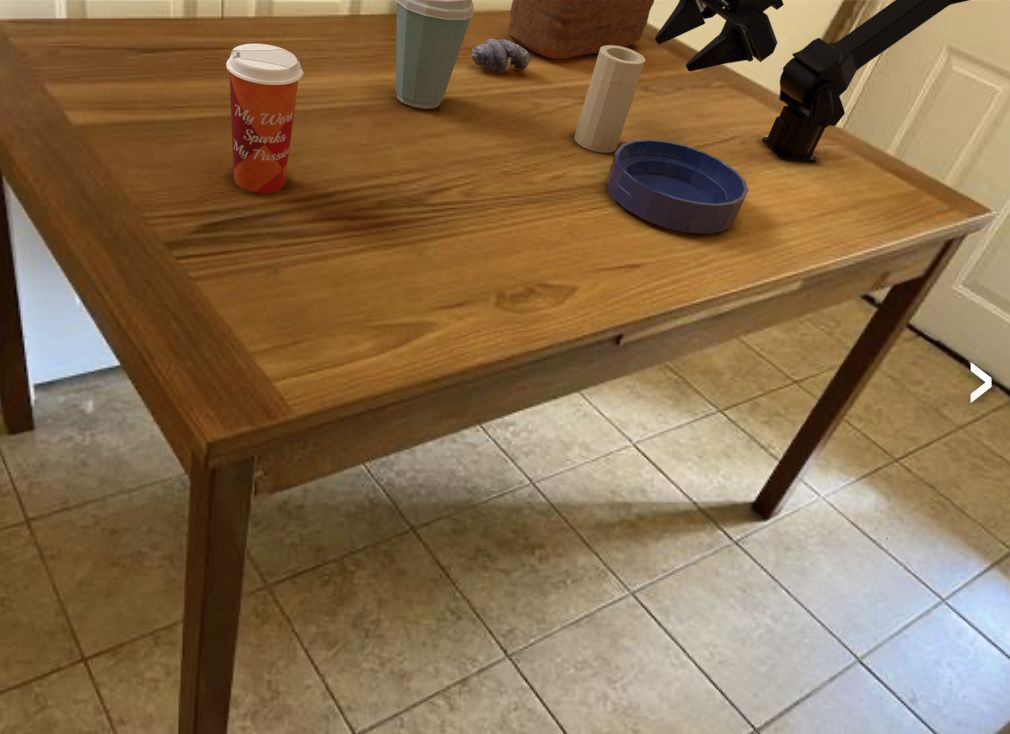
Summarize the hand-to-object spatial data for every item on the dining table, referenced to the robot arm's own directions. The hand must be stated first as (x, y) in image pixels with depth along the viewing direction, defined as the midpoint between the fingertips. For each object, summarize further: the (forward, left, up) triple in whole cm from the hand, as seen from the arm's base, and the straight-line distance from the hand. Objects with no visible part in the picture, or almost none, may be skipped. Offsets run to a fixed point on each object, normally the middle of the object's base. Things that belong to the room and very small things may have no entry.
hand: (671, 54), depth 118 cm
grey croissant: (+16, -22, -13) cm, 31 cm away
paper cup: (+54, +19, -13) cm, 59 cm away
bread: (-2, -39, -13) cm, 41 cm away
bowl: (+2, +17, -13) cm, 21 cm away
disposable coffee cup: (+31, -8, -13) cm, 35 cm away
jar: (+7, +1, -13) cm, 15 cm away
